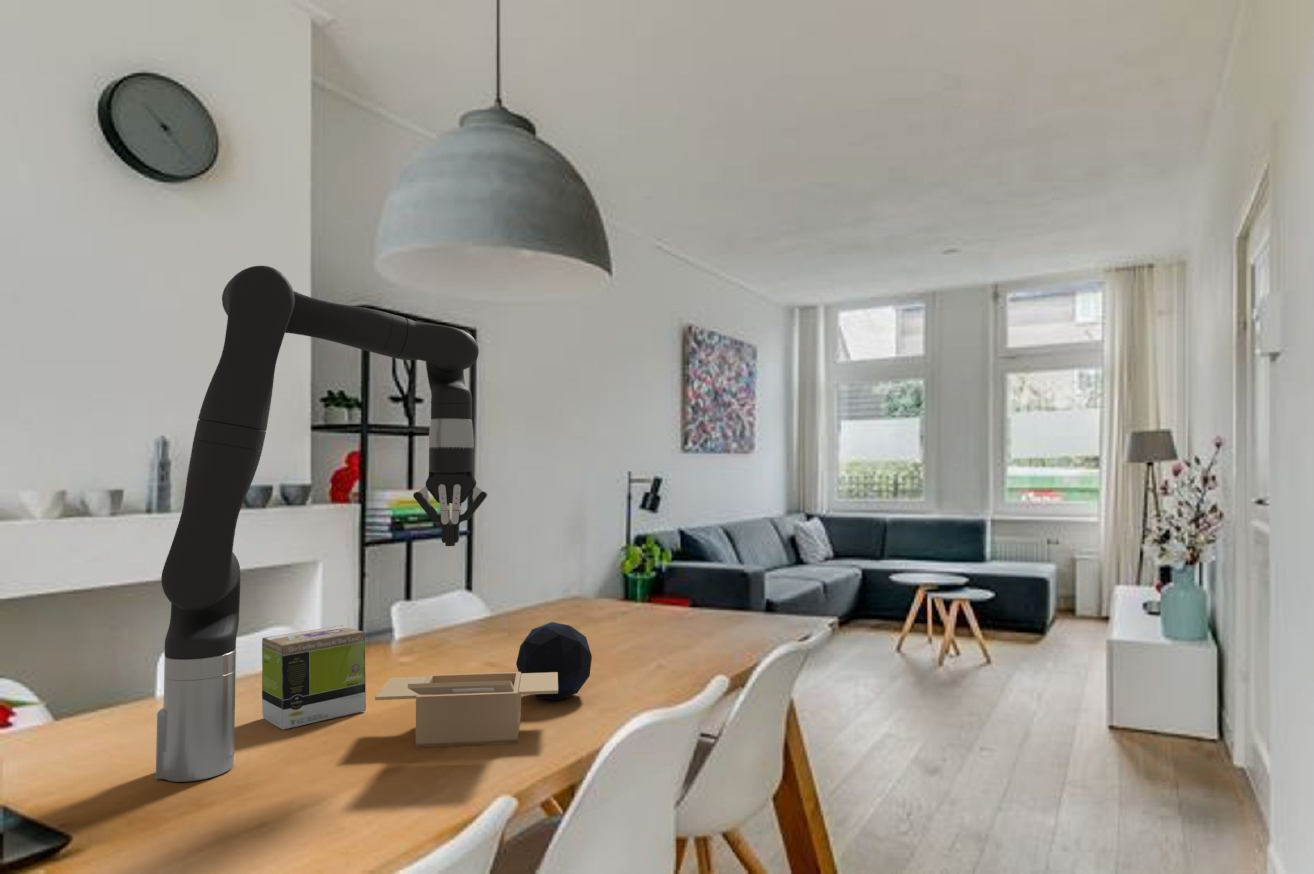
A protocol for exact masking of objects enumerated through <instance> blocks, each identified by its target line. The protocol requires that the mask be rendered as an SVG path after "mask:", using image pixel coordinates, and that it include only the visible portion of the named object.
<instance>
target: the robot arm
mask: <svg viewBox="0 0 1314 874" xmlns="http://www.w3.org/2000/svg"><path fill="white" fill-rule="evenodd" d="M221 301H222V302H221V303H222V304H221V305H222V307H223V311H224V312H225V314H226V315H227V321H226V329H225V337H224V343H223V348H222V352H221V355H220V359H219V362H218V364H217V366H216V369H215V371H214V373H213V375H212V378H211V379H210V383H209V384H208V387H207V389H206V392H205V395H204V398H203V401H202V404H201V407H200V411H199V414H198V417H197V418H198V419H197V421H196V422H197V423H196V428H195V432H194V436H193V442H192V446H191V451H190V459H189V464H188V470H187V476H186V482H185V483H186V484H185V490H184V499H183V506H182V510H181V514H180V517H179V521H178V523H177V527H176V530H175V534H174V535H173V540H172V542H171V546H170V548H169V552H168V554H167V556H166V558H165V559H166V560H165V562H164V565H163V568H162V572H161V577H160V578H161V579H160V580H161V581H160V582H161V587H162V591H163V594H164V595H165V597H166V598H167V600H168V601H169V602H170V603H171V604H170V620H169V624H168V625H169V626H168V629H167V632H166V635H165V637H164V638H165V639H164V653H163V654H164V666H163V667H164V668H163V670H164V671H163V672H164V673H163V675H164V676H163V708H161V709H159V710H158V712H157V713H156V736H155V738H156V740H155V741H156V742H155V746H156V747H155V780H166V781H168V782H176V783H177V782H183V783H184V782H193V781H194V782H195V781H202V780H206V779H211V778H212V777H213V778H214V777H216V776H217V777H218V776H220V775H222V774H224V773H226V772H228V771H230V770H231V769H232V768H233V767H234V766H235V765H234V764H235V728H236V727H235V723H236V722H235V721H236V720H235V719H236V718H235V717H236V713H235V712H236V674H237V673H236V669H237V668H236V665H237V664H236V663H237V659H236V658H237V657H236V655H237V649H236V648H237V635H238V629H239V625H240V604H241V603H240V602H241V601H240V600H241V568H240V563H239V559H238V558H237V556H236V555H235V553H234V552H233V551H234V541H235V534H236V528H237V523H238V519H239V515H240V512H241V509H242V506H243V503H244V502H245V499H246V496H247V495H248V492H249V491H250V487H251V485H252V484H253V480H254V477H255V475H256V472H257V470H258V466H259V463H260V460H261V456H262V452H263V448H264V443H265V439H266V438H265V437H266V435H267V429H268V423H269V422H268V421H269V417H270V409H271V403H272V397H273V388H274V381H275V380H274V379H275V371H276V365H277V361H278V358H279V353H280V350H281V347H282V343H283V340H284V337H285V334H293V335H299V336H305V337H311V338H316V339H320V340H323V341H324V340H326V341H329V342H333V343H336V344H337V343H338V344H341V345H345V346H348V347H352V348H355V349H359V350H362V351H366V352H370V353H373V354H377V355H382V356H385V357H389V358H393V359H397V360H401V361H417V360H418V361H422V362H425V368H426V373H427V380H428V385H429V390H430V395H431V397H430V425H429V432H428V475H427V476H428V477H427V479H426V480H425V486H424V487H423V488H421V489H420V490H418V491H415V492H414V493H413V495H412V496H413V498H414V499H415V501H416V502H417V503H418V505H419V506H420V507H421V508H422V510H423V511H424V513H426V515H427V516H428V518H430V519H431V521H434V522H437V523H439V524H440V526H441V542H442V543H443V544H444V545H445V547H455V546H456V543H458V542H459V541H460V524H461V523H463V522H465V521H468V520H470V519H471V517H472V516H473V515H474V514H475V512H476V511H477V509H479V507H480V506H482V503H483V502H484V501H485V500H486V498H487V497H488V493H487V491H485V490H483V489H481V488H480V487H478V486H477V481H476V479H475V478H474V477H475V476H474V445H475V440H474V428H473V396H472V391H471V390H470V389H469V388H468V387H466V383H465V375H464V370H465V371H466V370H468V369H469V368H471V367H472V366H473V365H474V364H475V363H476V361H477V360H478V358H479V353H480V349H479V345H478V343H477V341H476V339H475V338H474V337H473V336H472V335H471V334H469V333H468V332H467V331H465V330H463V329H461V328H460V329H459V328H457V327H452V326H447V325H443V324H442V325H441V324H435V323H428V322H427V323H426V322H420V321H415V320H413V319H410V318H408V317H407V318H406V317H404V316H401V315H396V314H393V313H390V312H387V311H382V310H378V309H374V308H367V307H361V306H356V305H355V306H354V305H348V304H343V303H342V304H341V303H337V302H330V301H328V300H327V301H326V300H323V299H322V300H321V299H318V298H314V297H310V296H308V295H305V294H302V293H300V292H297V291H295V290H294V289H293V286H292V284H291V282H290V281H289V279H288V278H287V276H286V275H284V274H283V273H282V272H281V271H279V270H278V269H276V268H274V267H271V266H268V265H254V266H250V267H247V268H244V269H242V270H241V271H239V272H238V273H236V274H235V275H234V276H233V277H232V278H231V279H230V280H229V281H228V282H227V284H226V285H225V286H224V288H223V291H222V295H221ZM429 493H430V494H429ZM472 493H473V494H472ZM471 494H472V499H473V501H472V503H470V504H469V506H468V508H467V509H466V510H465V511H464V513H462V512H461V511H462V505H463V503H464V502H465V501H466V500H467V499H468V498H469V496H471ZM430 495H431V496H432V497H433V498H434V500H435V502H436V503H438V504H439V511H440V513H439V512H438V511H437V510H436V509H435V507H434V506H433V505H432V503H430V501H429V499H430ZM450 504H452V505H451V507H450ZM450 509H451V512H450ZM450 513H451V514H450ZM450 522H451V523H450Z"/></svg>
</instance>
